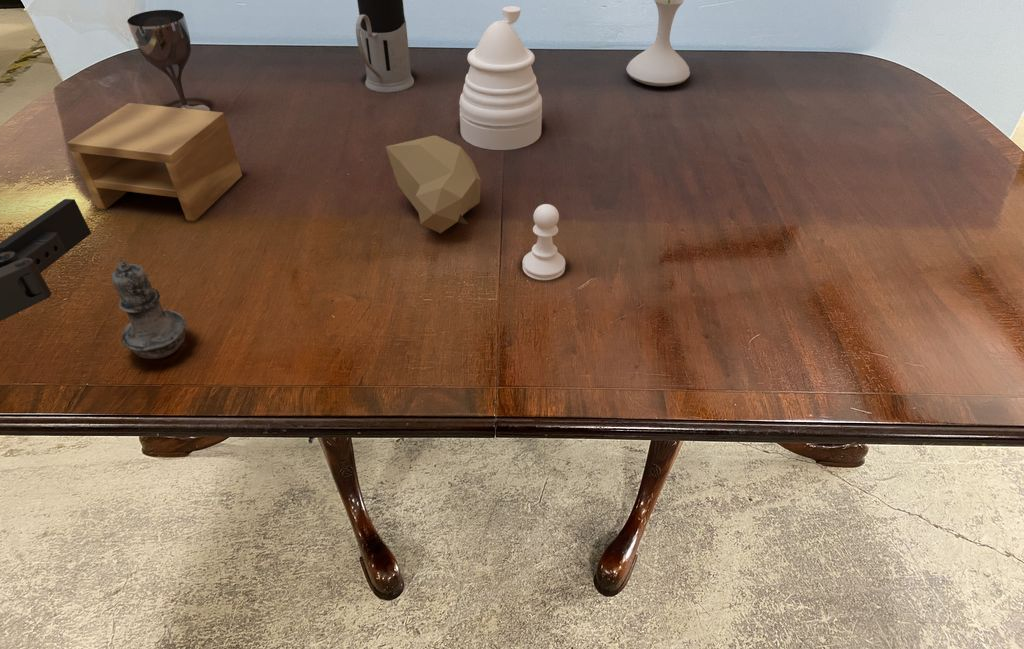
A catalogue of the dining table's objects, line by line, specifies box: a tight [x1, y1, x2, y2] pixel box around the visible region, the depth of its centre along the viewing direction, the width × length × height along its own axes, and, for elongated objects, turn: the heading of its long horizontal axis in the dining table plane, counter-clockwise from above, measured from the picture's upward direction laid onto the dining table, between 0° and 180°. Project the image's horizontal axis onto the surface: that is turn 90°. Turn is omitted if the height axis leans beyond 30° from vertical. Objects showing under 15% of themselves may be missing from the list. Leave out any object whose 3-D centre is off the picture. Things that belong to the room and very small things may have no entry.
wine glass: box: [126, 9, 211, 111], centre depth 105 cm, size 8×8×15 cm
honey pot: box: [458, 5, 543, 151], centre depth 100 cm, size 13×13×18 cm
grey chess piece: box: [110, 259, 187, 360], centre depth 64 cm, size 6×6×12 cm
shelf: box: [66, 102, 243, 222], centre depth 87 cm, size 14×12×10 cm
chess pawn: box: [521, 203, 567, 281], centre depth 75 cm, size 5×5×9 cm
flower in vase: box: [625, 0, 691, 87], centre depth 113 cm, size 13×11×25 cm
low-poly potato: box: [385, 134, 482, 234], centre depth 84 cm, size 15×11×12 cm
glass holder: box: [355, 0, 415, 93], centre depth 113 cm, size 9×14×15 cm, turn 166°
